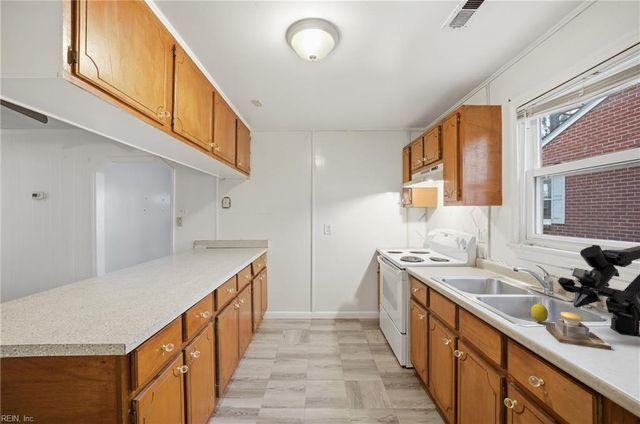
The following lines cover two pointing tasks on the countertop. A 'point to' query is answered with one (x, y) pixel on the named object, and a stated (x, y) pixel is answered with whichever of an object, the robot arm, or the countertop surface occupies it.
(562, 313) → the button
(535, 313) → the lemon
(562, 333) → the board
